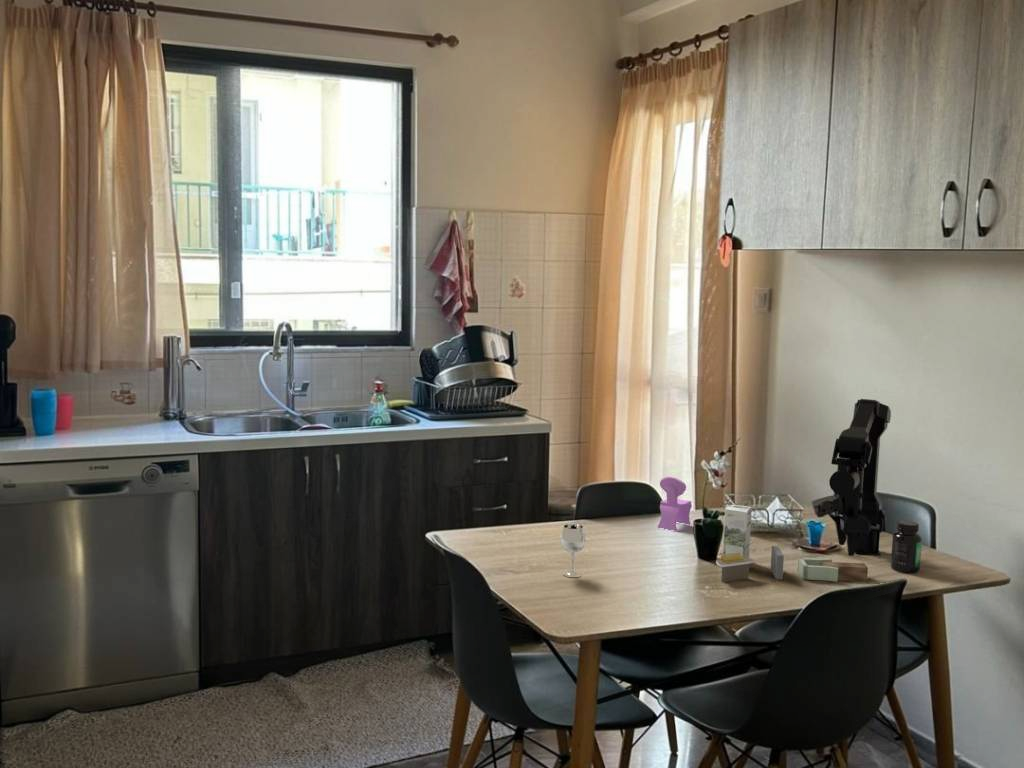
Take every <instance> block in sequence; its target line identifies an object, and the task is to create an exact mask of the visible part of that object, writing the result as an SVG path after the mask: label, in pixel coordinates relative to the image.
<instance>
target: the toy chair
mask: <svg viewBox="0 0 1024 768" xmlns="http://www.w3.org/2000/svg"><path fill="white" fill-rule="evenodd" d="M659 486H660V488H661V489H662V490H663V491H664V492H665V493H666V499H664V500H661V501H660V504H659V509H660V520H659V523H658V524H657V527H658V528H657V527H656V528H657V529H660V528H664V529H663V530H665V529H668V530H667V531H670V530H674V531H673V532H675V531H677V532H678V529H677V524H676V522H679V523H685V524H689V525H691V521H690V511H691V509H692V500H685V499H680V498H678V497H679V496H681V495H683V494H684V493H685V491H686V489H687V484H686V483H685V482H684V481H682V480H681V479H679V478H677V477H675V476H674V477H673V476H664V477H663V478H661V479H660V481H659Z"/></svg>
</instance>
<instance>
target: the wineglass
mask: <svg viewBox="0 0 1024 768" xmlns="http://www.w3.org/2000/svg"><path fill="white" fill-rule="evenodd" d="M584 529H585V528H584V526H583V525H582V524H578V523H577V524H576V523H568V524H567V523H566V524H564V525H563V527H562V531H561V537H560V542H561V543H560V544H561V547H562V549H563V550H565V551H566V552H568V553H570V555H569V557H570V558H569V559H570V563H571V564H570V565H571V566H570V567H571V568H570V571H566V572H567V574H568V575H572V576H575V575H578V573H579V572H577V571H575V570H574V561H575V553H578V552H581V551H582V550H583V549H584V547H585V543H586V535H585V530H584ZM576 572H577V573H576Z"/></svg>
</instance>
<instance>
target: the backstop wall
mask: <svg viewBox="0 0 1024 768" xmlns="http://www.w3.org/2000/svg"><path fill="white" fill-rule="evenodd" d="M770 554H771V557H770V571H771V573H772V574H773V576H774V578H775V580H780V581H782V580H783V576H784V562H785V561H784V560H785V559H784V558H785V555H784V554H783V552H782V550H781V549H780V547H779V545H772V546H771V553H770Z"/></svg>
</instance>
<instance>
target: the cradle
mask: <svg viewBox="0 0 1024 768" xmlns="http://www.w3.org/2000/svg"><path fill="white" fill-rule="evenodd" d="M822 562H833V560H832V558H830V557H828V558H826V557H825V558H813V557H812V558H809V557H808V558H807V557H798V561H797V572H798V574H799V575H800V576H801V578H802V579H803V580H809V581H810V580H812V581H813V580H814V581H829V582H836V583H837V582H838V568H836V567H829V566H822Z"/></svg>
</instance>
